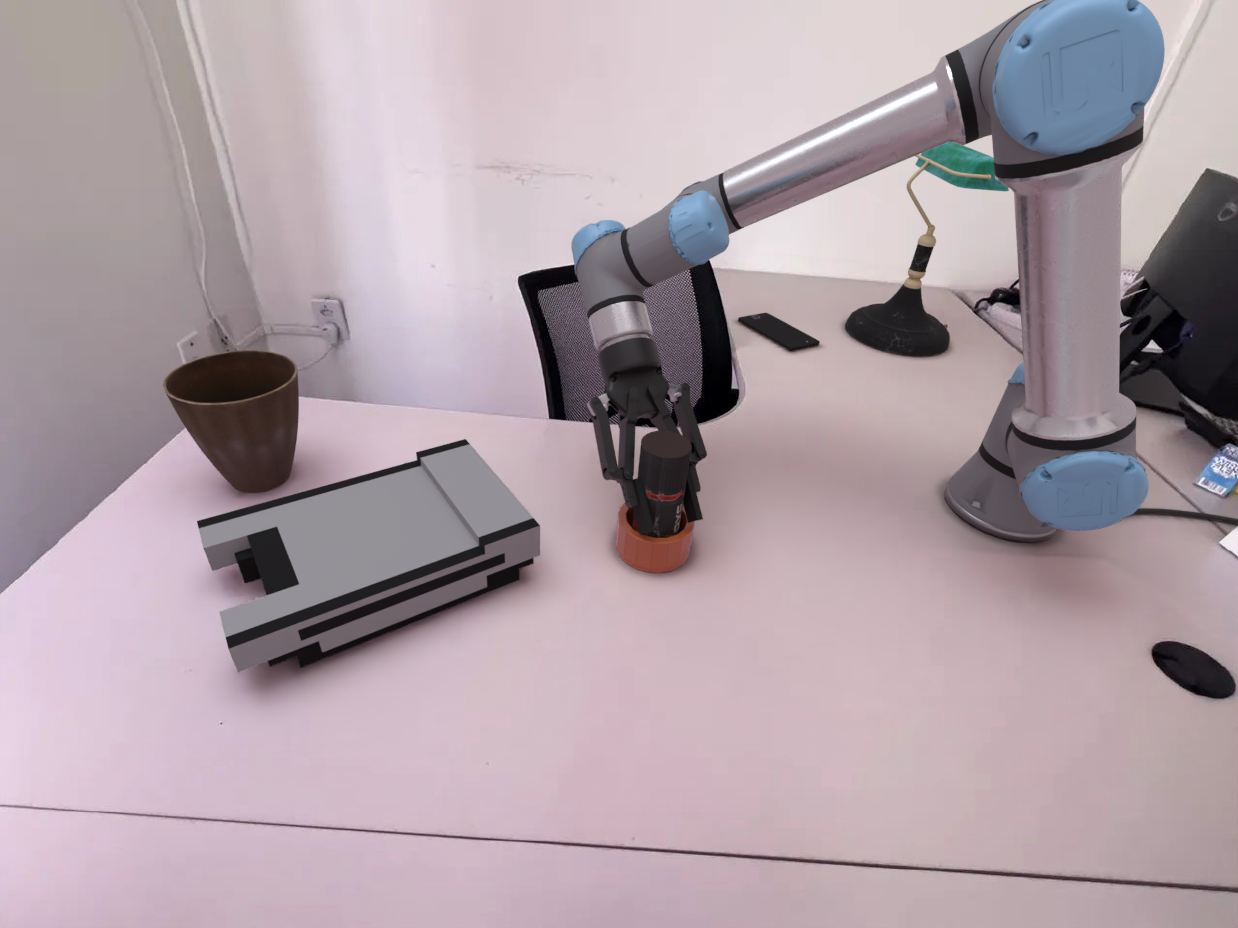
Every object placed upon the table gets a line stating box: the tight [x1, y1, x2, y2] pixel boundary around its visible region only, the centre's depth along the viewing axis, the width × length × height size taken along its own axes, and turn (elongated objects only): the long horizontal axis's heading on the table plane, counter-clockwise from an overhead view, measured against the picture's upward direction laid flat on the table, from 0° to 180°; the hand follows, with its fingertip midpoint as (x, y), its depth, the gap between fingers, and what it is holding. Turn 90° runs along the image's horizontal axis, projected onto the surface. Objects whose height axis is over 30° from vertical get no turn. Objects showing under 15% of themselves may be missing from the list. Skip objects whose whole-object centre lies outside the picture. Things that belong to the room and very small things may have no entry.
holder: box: [615, 502, 696, 574], centre depth 83 cm, size 10×10×5 cm
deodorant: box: [632, 430, 692, 538], centre depth 80 cm, size 6×6×15 cm
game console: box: [196, 438, 541, 673], centre depth 75 cm, size 21×32×8 cm, turn 124°
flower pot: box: [162, 349, 300, 494], centre depth 87 cm, size 15×15×16 cm
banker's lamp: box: [844, 142, 1010, 358], centre depth 139 cm, size 26×23×40 cm
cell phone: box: [737, 312, 820, 352], centre depth 147 cm, size 9×18×1 cm, turn 31°
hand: (671, 526), depth 79 cm, fingers closed on deodorant, 6 cm apart
